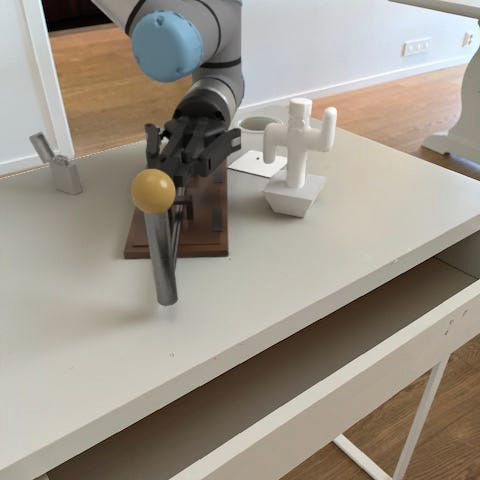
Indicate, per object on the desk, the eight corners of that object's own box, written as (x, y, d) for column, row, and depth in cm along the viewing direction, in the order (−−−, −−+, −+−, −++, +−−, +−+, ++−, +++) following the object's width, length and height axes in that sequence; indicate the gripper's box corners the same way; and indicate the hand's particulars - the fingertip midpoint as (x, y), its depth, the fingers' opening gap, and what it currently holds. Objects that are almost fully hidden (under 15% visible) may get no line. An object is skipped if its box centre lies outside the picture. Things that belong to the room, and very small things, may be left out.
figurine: (271, 191, 77) (274, 86, 67) (332, 202, 74) (345, 94, 65) (253, 213, 72) (254, 104, 62) (318, 226, 69) (329, 113, 60)
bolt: (175, 149, 85) (166, 51, 75) (199, 149, 85) (193, 50, 75) (147, 315, 53) (124, 181, 43) (185, 314, 53) (171, 180, 43)
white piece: (270, 177, 80) (270, 172, 80) (226, 167, 83) (226, 162, 83) (292, 158, 86) (292, 154, 85) (250, 149, 89) (250, 145, 88)
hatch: (148, 163, 85) (145, 140, 82) (226, 162, 85) (226, 138, 83) (124, 258, 64) (119, 231, 61) (228, 256, 64) (227, 228, 62)
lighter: (82, 190, 78) (71, 138, 73) (74, 195, 77) (61, 143, 72) (50, 180, 81) (36, 129, 76) (41, 184, 80) (27, 133, 75)
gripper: (250, 144, 73) (221, 230, 56) (162, 139, 75) (107, 221, 57) (250, 89, 68) (219, 164, 51) (156, 85, 70) (94, 157, 52)
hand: (159, 194), depth 54 cm, fingers closed
